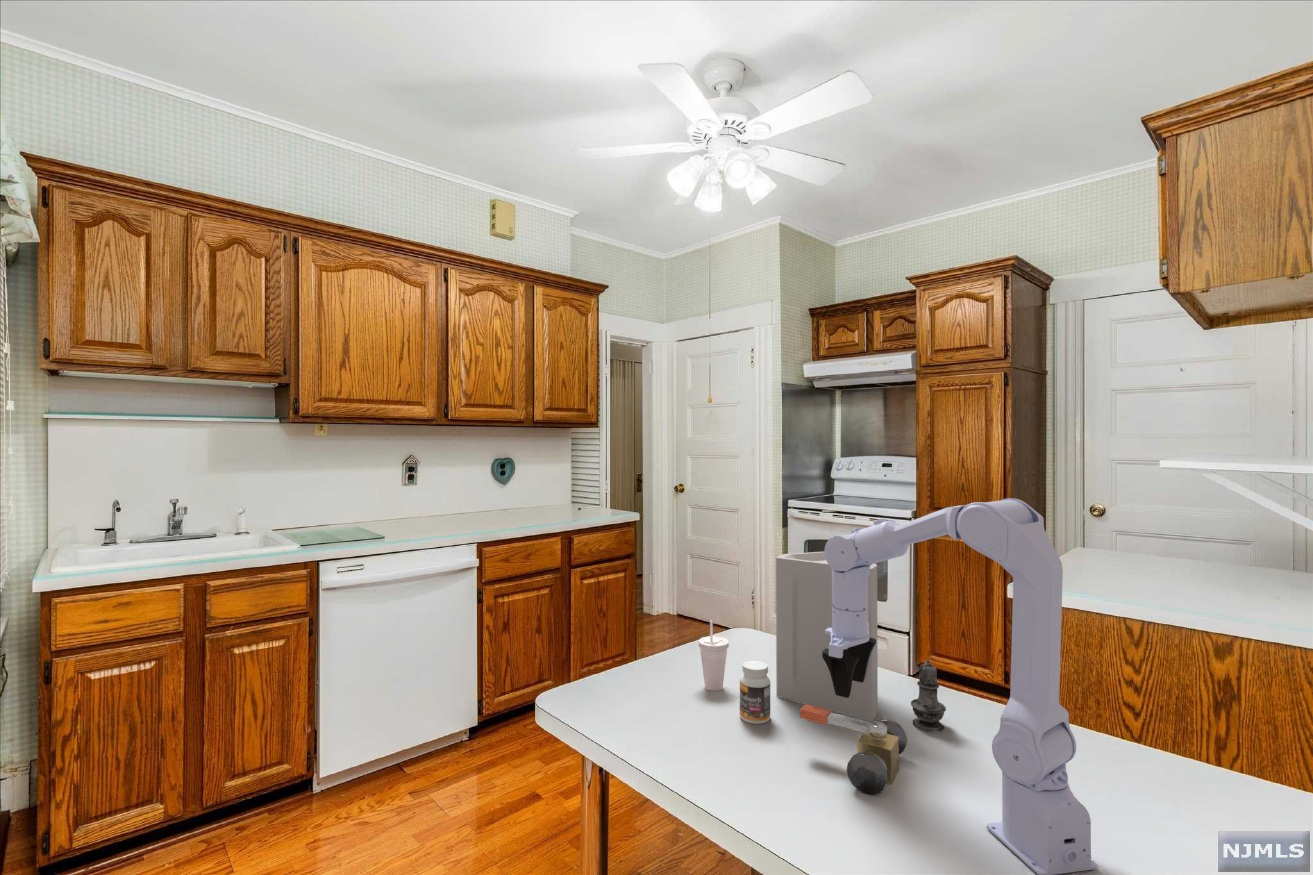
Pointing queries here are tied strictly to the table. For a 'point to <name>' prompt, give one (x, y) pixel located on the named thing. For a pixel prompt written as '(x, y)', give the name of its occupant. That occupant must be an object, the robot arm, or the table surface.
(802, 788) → the table surface
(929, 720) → the salt shaker
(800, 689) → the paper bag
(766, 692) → the pill bottle
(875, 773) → the valve
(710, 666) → the smoothie
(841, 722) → the valve lever
